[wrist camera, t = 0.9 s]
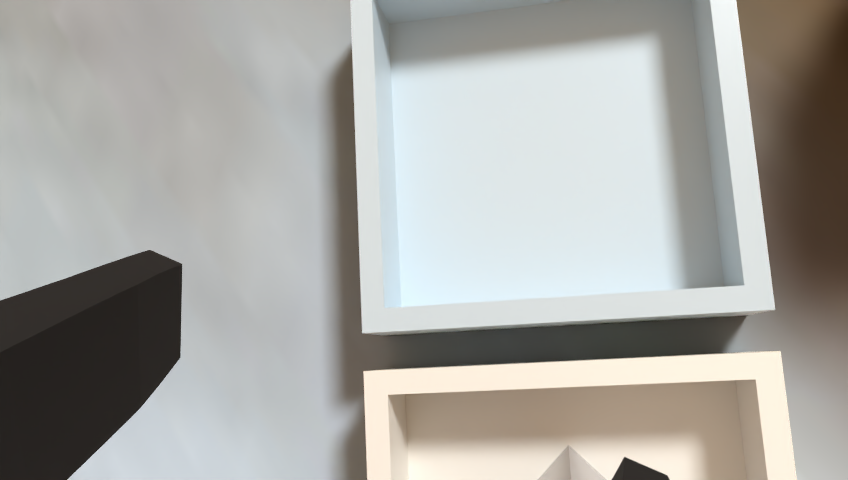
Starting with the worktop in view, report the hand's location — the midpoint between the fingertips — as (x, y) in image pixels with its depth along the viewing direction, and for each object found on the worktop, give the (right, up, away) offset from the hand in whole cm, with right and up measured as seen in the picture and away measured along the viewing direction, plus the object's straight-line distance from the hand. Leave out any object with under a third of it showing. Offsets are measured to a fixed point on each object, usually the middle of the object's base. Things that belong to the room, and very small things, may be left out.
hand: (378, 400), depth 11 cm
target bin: (+5, +5, +13) cm, 15 cm away
